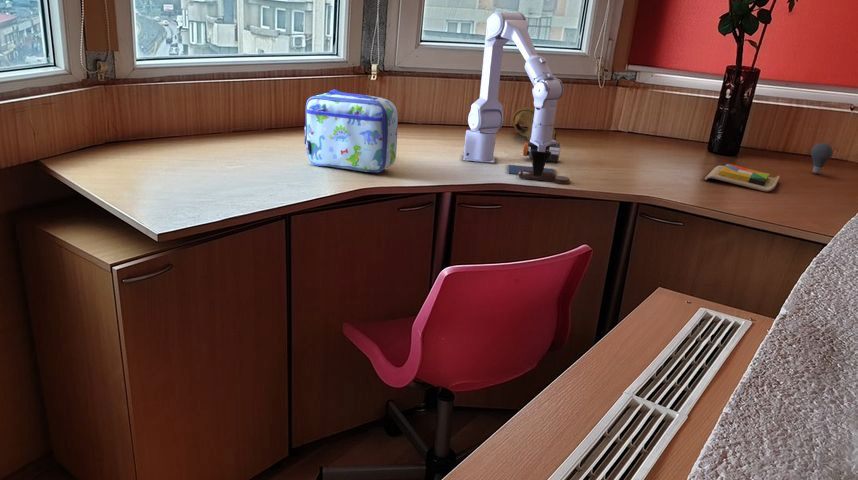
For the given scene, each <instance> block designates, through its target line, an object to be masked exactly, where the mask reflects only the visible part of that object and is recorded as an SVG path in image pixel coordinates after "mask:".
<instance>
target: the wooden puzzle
mask: <svg viewBox="0 0 858 480" xmlns="http://www.w3.org/2000/svg"><path fill="white" fill-rule="evenodd" d="M780 178H781V176H780V175H777V176H775V177H772V176H771V177H770V173H766V172H762V171H759V170H755V169H750V168H746V167H744V166H739V165H735V164H732V163H726V164H725V165H717V166H715V167H714V168H713V169H712V170H711V171H710V172H709V173H708V174H707V175H706V176H705V177H704V180H705V181H707V180H709V179H714V180H719V181H722V182H726V183H730V184H734V185H737V186H742V187H746V188H750V189H754V190H758V191H761V192H765V193H766V192H768V193H769V192H771V191H773V190H775V188H776V186H777V184H778V182H779V180H780Z"/></svg>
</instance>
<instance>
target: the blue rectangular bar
mask: <svg viewBox="0 0 858 480" xmlns="http://www.w3.org/2000/svg"><path fill="white" fill-rule="evenodd" d="M521 169H525V170H533V167H532V166H527V165H526V166H525V165H515V164H509V165H508V174H509V175H517V176H518V172H519V170H521ZM543 171H547V172H553V173H555V172H554V169H553V168H548V167H544V169H543Z"/></svg>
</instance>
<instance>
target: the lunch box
mask: <svg viewBox="0 0 858 480" xmlns="http://www.w3.org/2000/svg"><path fill="white" fill-rule="evenodd" d="M398 117H399V116H398V111H397V107H396V105H395V103H393V102H392V101H391V100H389V99H387V98H383V97H379V96H373V95H367V94H360V93H359V94H358V93H351V92H344V91H339V90H337V89H332V90H329V92H325V93H322V94H318V95H311V96H310V97H309V98H308V99H307V101H306V104H305V125H304V127H303V128H304V145H305V150H306V155H307V157H308V159H309V161H310V163H311V164H312V165H313V166H320V167H330V168H336V169H341V170H343V169H344V170H349V171H358V172H365V173H376V174H377V173H381V172H383V170H384V169H387V168H390V167H392V166H393V165H394V164H395V162H396V158H397V146H398V122H399V118H398Z"/></svg>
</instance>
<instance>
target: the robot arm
mask: <svg viewBox="0 0 858 480" xmlns="http://www.w3.org/2000/svg"><path fill="white" fill-rule="evenodd" d="M528 29H529V22H528V20H527V18H526V16H525V14H524V13H522V12H500V11H494V12H493V13H492V14H490V16H489V17H488V18H487V19H486V30H485V39H484V49H483V58H482V59H483V60H482V67H481V68H482V70H481V81H480V88H479V89H480V90H479V98H478V99H476V101H474V102H473V103H472V104H471V105H470V112H469V113H468V117H467V124H468V126H469V128H470V129H466V131H465V138H464V147H463V148H462V149H463V151H462V154H463V159H462V160H463V161H465V162H466V161H468V162H480V163H490V164H494V163H495V159H496V158H495V156H494V155H495V148H496V139H497V133H498V132H499V129H501V128H502V126H503V124H504V112H503V110H504V109H503V108H504V106H503V104H502V103H501V102H500V101H499V100H498V98H499V91H500V89H499V88H500V78H501V70H502V61H503V51H504V46H505V45H506V44H507V43H508V42H510V41H512V42H514V44H515V45H516V48H517V49H518V50H519V52H520V54H521V56H522V57H523V59H524V61H525V64H524V70H525V72H526V73H527V76H528V78H529V80H530V81H531V84H532V86H533V88H532V89H531V90H532V97H533V106H534V110H535V112H534V119H533V126H532V134H531V138H530V140H529V142H528V143H529V145H530V148H531V149H530V152H531V154H532V159H531V167H533V174H534V175H538V176H541V175H542V172H543V169H544V168H545V166H546V163H547V162H548V161H547V159H548V158H549V156H550V155H551V152H547V149H548V148H549V146H550V144H556V143H557V141H556V140H557V139H556V140H552V135H553V128H554V129H555V119H556V114H557V113H556V112H557V107H558V101H559V100H560V99H561V98H562V97H563V95H564V89H565V88H564V84H563V81H562V80H561V79H560V78H557V77H556V76H555V75H553V73H552V71H551V69H550V67H549V66H548V63H547V59H546V57H544V56H542V55H538V53H537V50H536V48H535V45H534V43H533V41H532V38H531V36H530V34H529V32H528Z"/></svg>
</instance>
